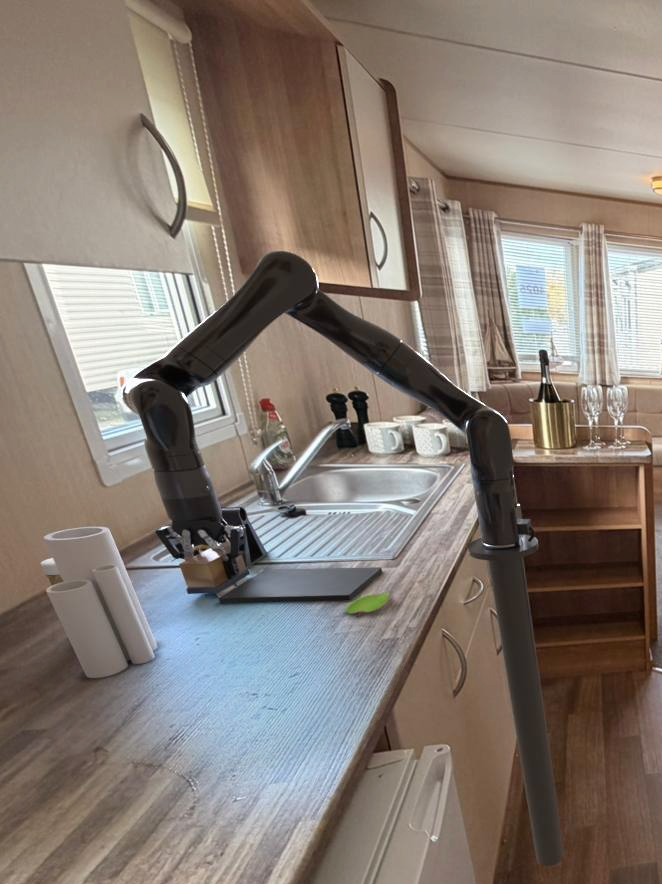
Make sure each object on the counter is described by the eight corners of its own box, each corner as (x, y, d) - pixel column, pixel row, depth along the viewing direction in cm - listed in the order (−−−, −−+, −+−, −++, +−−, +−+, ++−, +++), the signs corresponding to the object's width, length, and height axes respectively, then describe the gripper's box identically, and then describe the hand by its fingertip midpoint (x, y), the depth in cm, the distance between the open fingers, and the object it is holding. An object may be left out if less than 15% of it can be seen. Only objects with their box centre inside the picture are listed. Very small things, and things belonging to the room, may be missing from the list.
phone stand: (247, 568, 135) (229, 513, 130) (213, 569, 133) (194, 514, 128) (267, 554, 143) (251, 502, 138) (236, 555, 141) (218, 502, 136)
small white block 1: (226, 585, 124) (227, 590, 124) (215, 592, 121) (217, 596, 122) (234, 585, 124) (236, 590, 125) (224, 591, 121) (225, 596, 122)
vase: (106, 648, 102) (52, 529, 94) (165, 639, 106) (119, 524, 98) (80, 681, 94) (19, 553, 86) (146, 669, 97) (94, 546, 89)
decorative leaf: (336, 611, 119) (334, 606, 119) (382, 593, 126) (381, 589, 126) (360, 618, 116) (359, 613, 115) (406, 599, 123) (405, 595, 122)
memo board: (382, 572, 136) (381, 567, 136) (350, 600, 123) (348, 595, 122) (266, 574, 132) (265, 569, 132) (220, 603, 119) (218, 598, 118)
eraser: (250, 574, 129) (240, 546, 127) (218, 593, 120) (207, 563, 118) (222, 574, 128) (212, 546, 126) (187, 594, 119) (176, 564, 117)
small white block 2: (237, 575, 129) (238, 580, 129) (227, 581, 126) (228, 586, 126) (245, 575, 129) (247, 580, 129) (235, 581, 126) (237, 586, 126)
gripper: (244, 487, 122) (270, 570, 129) (158, 486, 119) (189, 571, 126) (218, 497, 115) (247, 584, 122) (126, 497, 112) (161, 586, 119)
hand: (217, 577), depth 124 cm, fingers closed on eraser, 4 cm apart
